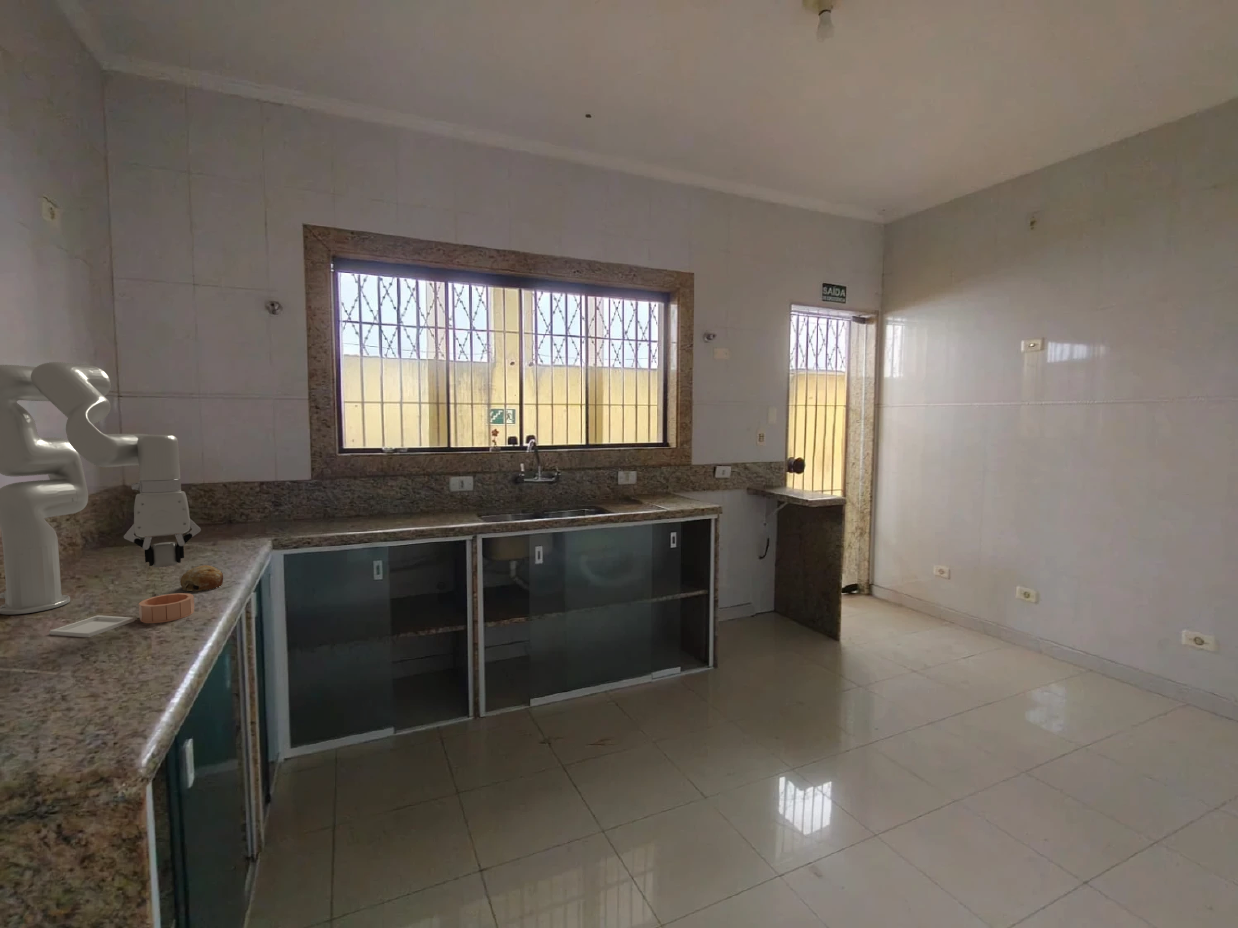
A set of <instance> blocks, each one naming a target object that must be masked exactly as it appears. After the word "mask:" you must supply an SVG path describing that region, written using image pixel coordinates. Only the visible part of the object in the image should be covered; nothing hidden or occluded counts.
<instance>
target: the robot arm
mask: <svg viewBox="0 0 1238 928" xmlns="http://www.w3.org/2000/svg"><path fill="white" fill-rule="evenodd" d="M111 387H112V384H111V379H110V377H109V375H108V374H107V373H106V371H104V370H103V369H102V368H99V367H98V366H95V365H91V364H81V363H73V362H72V363H71V362H63V361H62V362H60V361H55V362H54V361H52V362H50V361H49V362H45V363H42V364H40V365H37V366H29V365H17V364H16V365H15V364H0V474H1V475H2V476H6V477H31V476H33V477H34V476H45V475H47V476H48V478H49V479H44V480H43V479H41V480H40V479H38V480H27V481H19V482H13V483H8V484H6V485H4V486H1V487H0V532H1V541H2V552H3V553H2V555H3V563H4V565H3V566H4V577H5V590H4V592H0V599H4V601H5V602H4V604H1V605H0V614H1V615H22V614H30V613H37V612H43V611H47V610H48V611H49V610H52V609H56V608H59V607H62V606H65V605H67V604H69V603H70V601H71V596H69V595H67V594H62V583H61V569H60V555H59V554H60V553H59V541H58V534H57V531H56V530H55V529H54V527H53V526H52V525H50V524H49V523H48V521H46V519H47V518H51V517H58V516H66V515H72V514H76V513H78V512H79V513H80V512H81V511H82V510H84V509H85V508H86V507H87V504H88V503H89V491H88V486H87V485H88V484H87V481H86V476H85V470H84V466H83V462H82V459H81V457H82V458H84V459H85V460H86V461H87V462H89V463H90V464H92V465H94V466H96V467H101V468H114V467H124V466H125V467H129V466H130V467H131V466H138V476H139V477H138V478H139V481H138V482H135V483H131V489H132V490H137V491H138V492H139V493H137V494H136V495H135V497H134V498H135V500H134V506H133V515H134V516H133V517H134V518H133V524H132V525H131V527H130V528H129V529H128V530H127V531H126V533H125V534H124V535H123V538H124V540H127V541H129V542H132V543H134V544H135V545H137V546H139V547H140V548H142V549H143V550H144V561H145V563H148V565H149V567H153V551H152V544H151V543H152V538H154V537H164V536H165V537H166V536H175V538H176V557H177V564H178V563H179V564H181V561H182V559H184V558H185V550H184V549H185V548H184V547H185V544H186V543H188V541H189V540H191V539H192V538H193V537H195V536H196V535H197V534H199V533H200V532H201V531H202V529H201V527H200V526H199V525H197V524H196V523H195V521H193V520H192V519H191V518H190V508H189V502H188V497H187V495H186V494H187V493H186V491H183V490H182V483H181V482H182V481H181V465H180V449H179V440H178V437H177V436H175V435H172V434H149V433H148V434H147V433H104V432H102V431H100V430H99V429H98V428H97V427H96V426H95V425H96V424H97V423H99V422H101V421H103V420H104V419H105V418H106V417H107V416H108V415H109V413H110V411H111V408H112V405H111V402H110V401H109V399H108V398H107V397H106V396H107V395H108V394H109V393H110V391H111V389H112V388H111ZM18 401H25V402H26V401H27V402H28V401H29V402H32V401H33V402H50V403H51V404H52V405H53V406H54V407H55V408H56V409H58V411H59V412H61V413H62V414H63V415H64V416H65V417H66V418H67V420H66V423H65V433H66V438H67V439H66V438H63V437H41V436H40V435H39V433H38V430H37V425H36V420H35V418H34V417H33V416H32V415H31V414H30V413H29V411H28V410H27V409H26V408H25V407H23V406H22V405H20V404H19V403H18ZM190 529H191V530H190ZM134 534H135V535H134ZM183 534H185V535H183ZM142 538H144V539H142Z"/></svg>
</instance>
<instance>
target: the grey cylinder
mask: <svg viewBox="0 0 1238 928" xmlns="http://www.w3.org/2000/svg"><path fill="white" fill-rule="evenodd" d="M176 545H177V541H176V542H175V541H166V542H159V543H153V544H151V546H152V551H153V565H152V567H153V568H165V567H166V568H167V567H172V566H176V565H177V564H178V562H177V557H176Z"/></svg>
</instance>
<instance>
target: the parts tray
mask: <svg viewBox="0 0 1238 928" xmlns="http://www.w3.org/2000/svg"><path fill="white" fill-rule="evenodd" d="M135 621H136V620H135V617H133V616H132V617H129V616H114V615H113V616H112V615H101V614H100V615H99V614H97V615H95V616H91V617H88V618H84V619H82V620H79V621H75V622H72V623H69V624H66V625H63V626H60V627H59V626H58V627H56V628H53V629H51V630H49V635H50V636H65V637H79V638H91V637H94V636H97V635H100V634H103V633H106V632H108V631H111V630H114V629H117V628H121V627H123V626H125V625H128V624H131V623H134V622H135Z"/></svg>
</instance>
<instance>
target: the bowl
mask: <svg viewBox="0 0 1238 928" xmlns="http://www.w3.org/2000/svg"><path fill="white" fill-rule="evenodd" d="M194 612H195V596H194V595H193V594H192V593H190V592H188V593H187V592H186V593H185V592H184V593H183V592H178V593H177V592H176V593H168V594H161V595H155V596H152V597H149V598H146V599H143V600H141V601H140V602H139V603H138V617H139V618H138V619H140V622H141V623H145V624H158V623H168V622H171V621H172V622H173V621H176V620H177V621H178V620H180V619H183V618H187V617H190V616H191V615H192V614H193V613H194Z"/></svg>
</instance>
